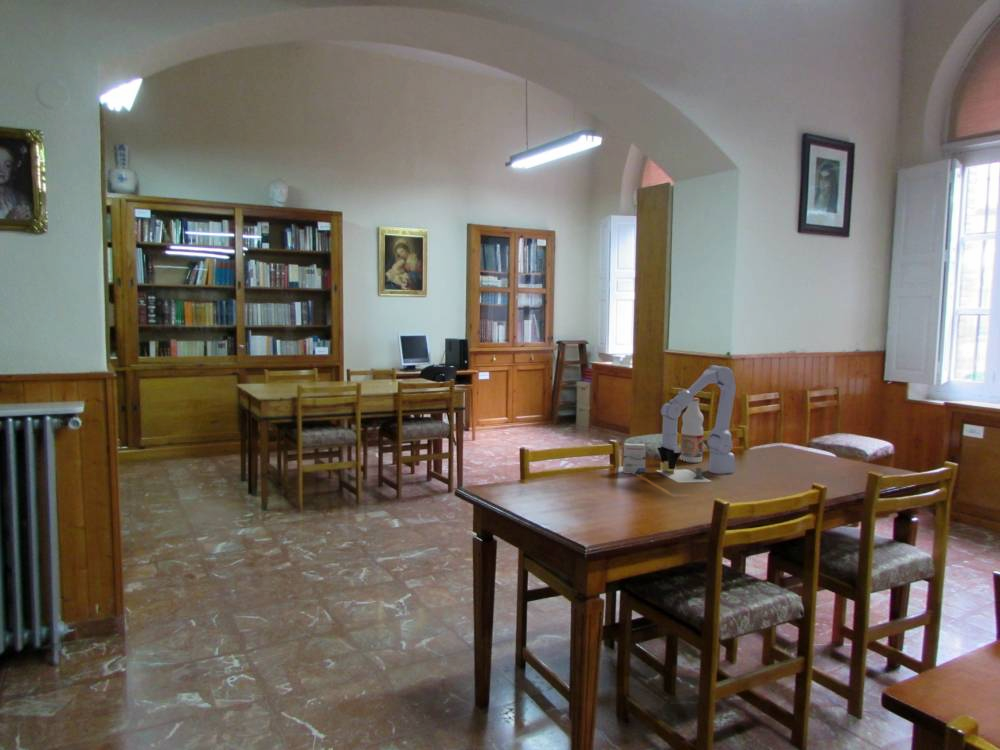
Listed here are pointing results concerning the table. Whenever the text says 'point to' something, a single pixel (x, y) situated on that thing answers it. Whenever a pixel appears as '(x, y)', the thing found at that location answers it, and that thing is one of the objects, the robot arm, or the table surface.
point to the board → (686, 476)
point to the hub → (668, 472)
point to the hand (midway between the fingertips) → (668, 467)
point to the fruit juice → (692, 433)
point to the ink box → (634, 458)
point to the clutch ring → (666, 466)
